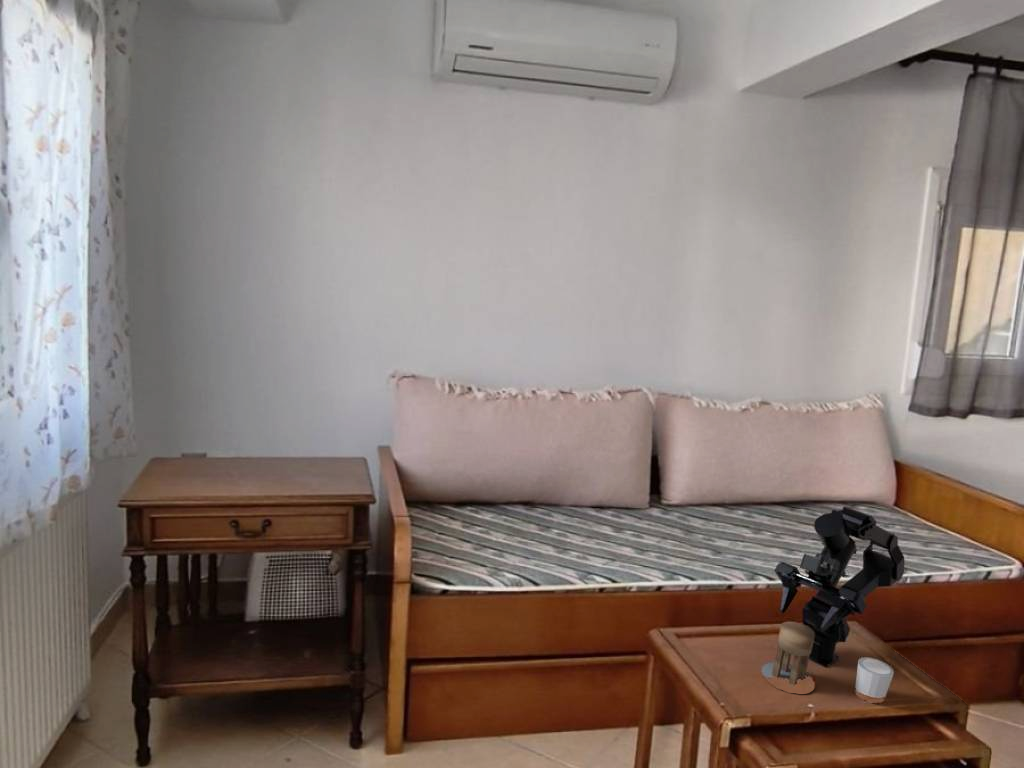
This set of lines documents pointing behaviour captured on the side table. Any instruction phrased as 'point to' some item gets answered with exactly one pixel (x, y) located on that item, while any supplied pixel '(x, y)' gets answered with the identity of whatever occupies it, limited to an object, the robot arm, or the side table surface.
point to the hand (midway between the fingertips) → (801, 620)
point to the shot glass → (873, 677)
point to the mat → (768, 670)
